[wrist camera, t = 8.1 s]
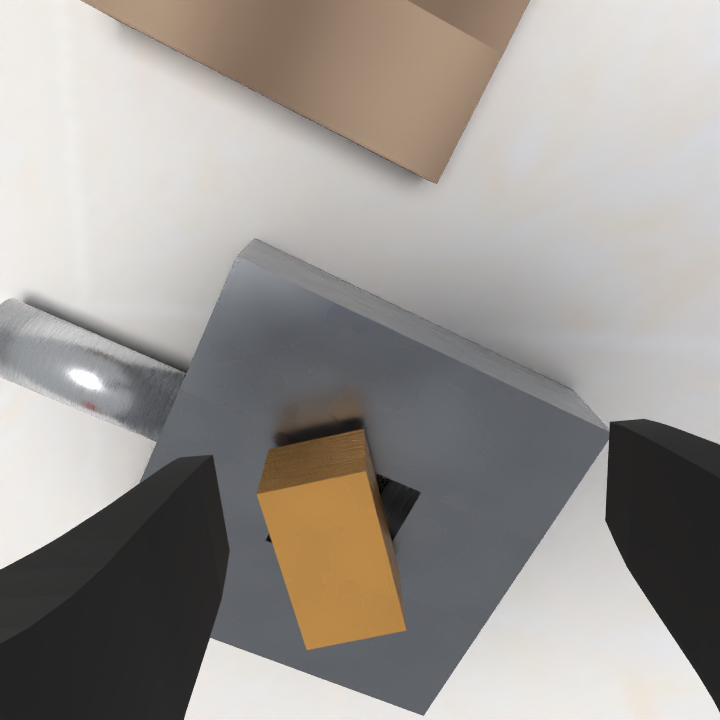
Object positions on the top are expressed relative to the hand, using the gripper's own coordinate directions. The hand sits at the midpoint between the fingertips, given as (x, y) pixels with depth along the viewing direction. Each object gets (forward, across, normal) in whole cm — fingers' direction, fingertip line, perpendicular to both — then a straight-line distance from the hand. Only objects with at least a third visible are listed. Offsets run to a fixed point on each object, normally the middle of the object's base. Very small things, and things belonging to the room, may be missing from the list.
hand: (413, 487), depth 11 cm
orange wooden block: (+10, +2, +4) cm, 11 cm away
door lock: (+10, +4, +3) cm, 12 cm away
